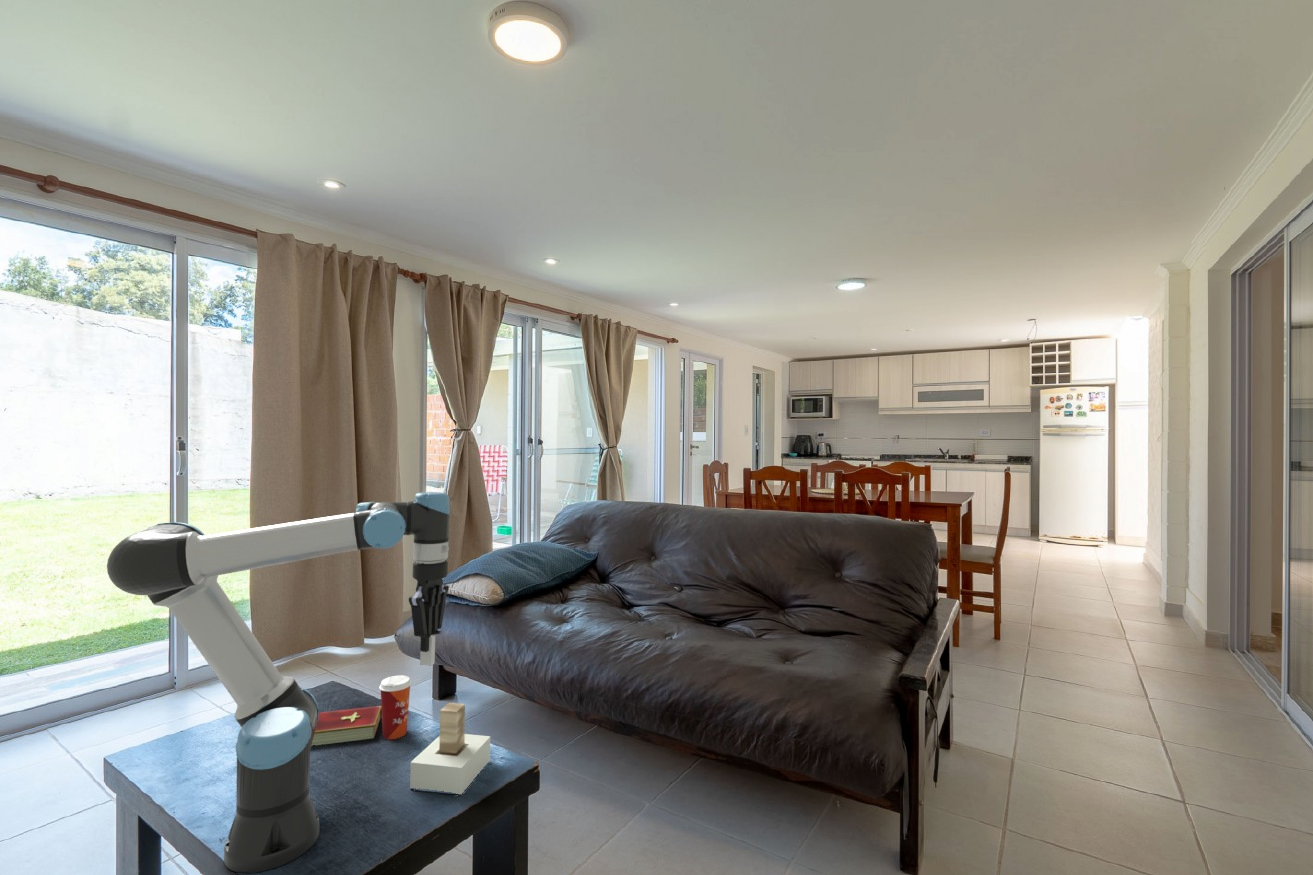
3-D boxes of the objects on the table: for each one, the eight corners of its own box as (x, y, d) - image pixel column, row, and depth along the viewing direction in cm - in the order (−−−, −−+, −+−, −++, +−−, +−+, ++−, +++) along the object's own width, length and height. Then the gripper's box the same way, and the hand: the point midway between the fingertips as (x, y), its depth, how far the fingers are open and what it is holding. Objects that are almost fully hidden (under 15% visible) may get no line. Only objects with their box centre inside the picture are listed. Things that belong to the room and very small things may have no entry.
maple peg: (455, 774, 135) (456, 711, 135) (439, 772, 136) (439, 710, 136) (464, 764, 139) (465, 703, 139) (448, 762, 140) (448, 702, 140)
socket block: (461, 795, 130) (461, 767, 130) (410, 789, 132) (410, 762, 132) (490, 761, 143) (490, 736, 143) (443, 756, 145) (443, 731, 145)
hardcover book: (295, 729, 159) (295, 713, 159) (381, 719, 165) (382, 703, 165) (281, 752, 148) (281, 734, 148) (375, 740, 154) (375, 723, 154)
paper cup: (403, 741, 152) (403, 686, 152) (373, 741, 152) (373, 685, 152) (416, 727, 160) (416, 674, 160) (387, 726, 160) (388, 673, 160)
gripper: (429, 566, 130) (426, 676, 130) (460, 556, 143) (457, 655, 143) (398, 564, 132) (394, 672, 132) (431, 554, 145) (428, 653, 144)
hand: (427, 663), depth 137 cm, fingers closed
